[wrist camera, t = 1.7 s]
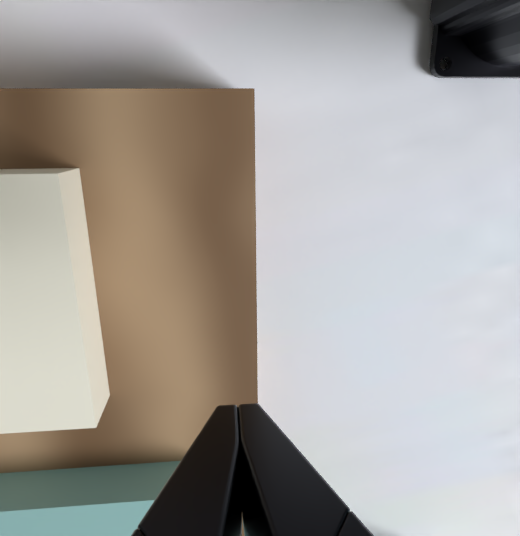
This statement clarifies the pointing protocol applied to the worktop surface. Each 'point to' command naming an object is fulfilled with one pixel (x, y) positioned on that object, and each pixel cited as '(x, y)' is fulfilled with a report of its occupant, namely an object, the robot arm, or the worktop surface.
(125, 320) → the deck
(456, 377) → the worktop surface
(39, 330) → the cream box
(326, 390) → the worktop surface
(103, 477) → the teal rectangular block
